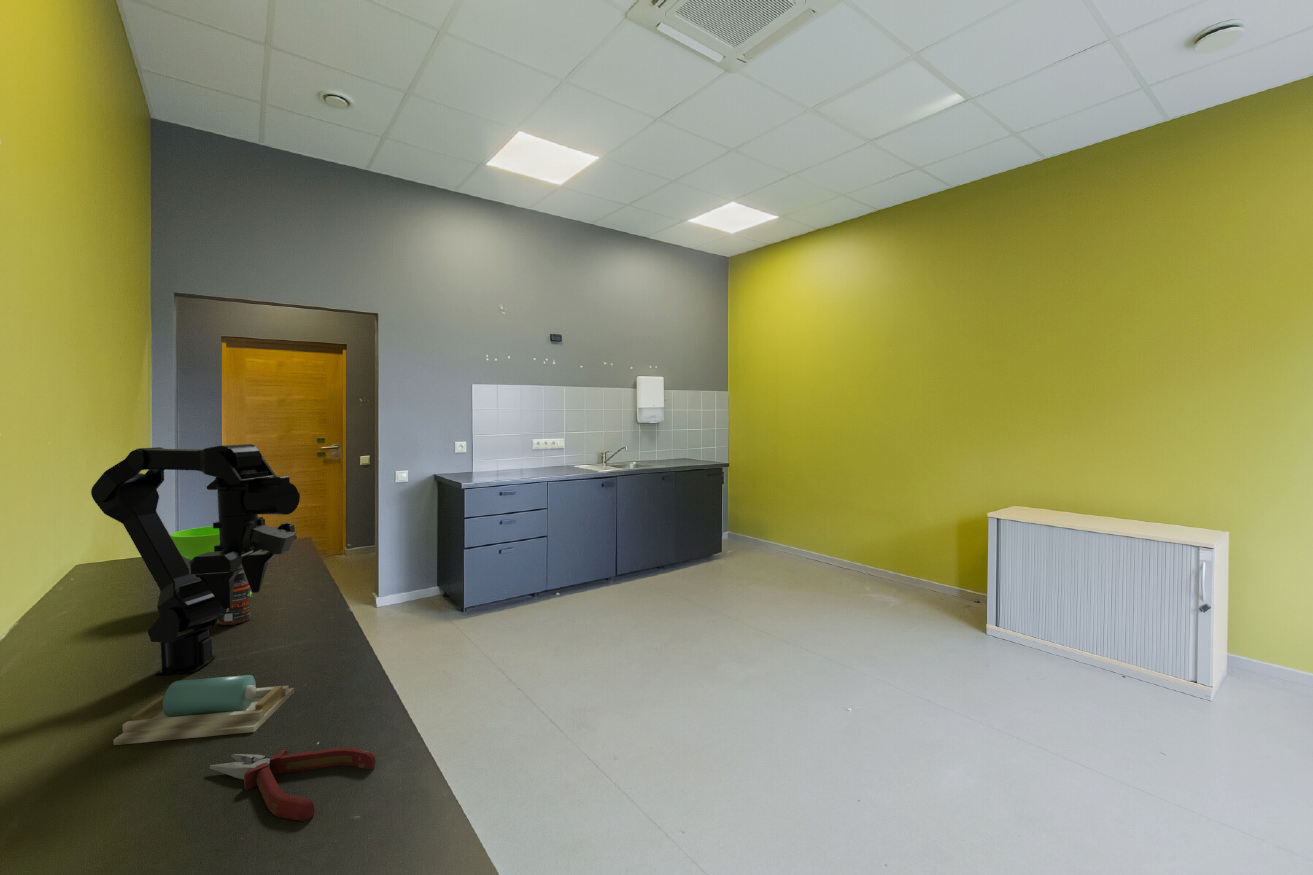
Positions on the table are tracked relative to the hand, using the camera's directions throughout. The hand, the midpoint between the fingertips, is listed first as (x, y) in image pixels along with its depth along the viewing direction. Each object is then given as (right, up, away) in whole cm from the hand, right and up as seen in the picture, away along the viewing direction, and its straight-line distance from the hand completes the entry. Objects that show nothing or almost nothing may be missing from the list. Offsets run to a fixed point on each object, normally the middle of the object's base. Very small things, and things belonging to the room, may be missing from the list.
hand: (242, 599), depth 102 cm
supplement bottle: (-21, -13, +27) cm, 36 cm away
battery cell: (+7, -13, -16) cm, 21 cm away
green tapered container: (-39, -13, +43) cm, 59 cm away
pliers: (+29, -14, -30) cm, 44 cm away
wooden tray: (+7, -13, -16) cm, 22 cm away
